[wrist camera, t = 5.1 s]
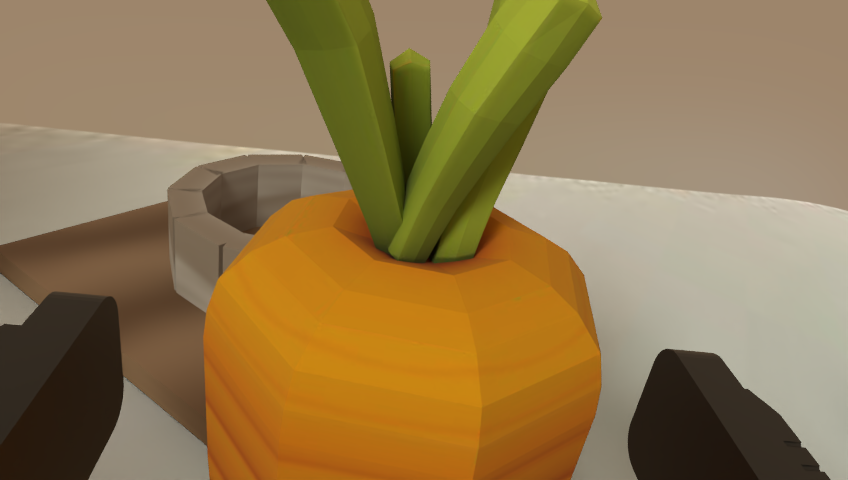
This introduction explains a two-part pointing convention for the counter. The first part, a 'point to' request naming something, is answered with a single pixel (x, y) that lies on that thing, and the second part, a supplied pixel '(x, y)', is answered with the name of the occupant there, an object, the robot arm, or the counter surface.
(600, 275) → the counter surface
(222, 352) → the carrot
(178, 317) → the ring board
